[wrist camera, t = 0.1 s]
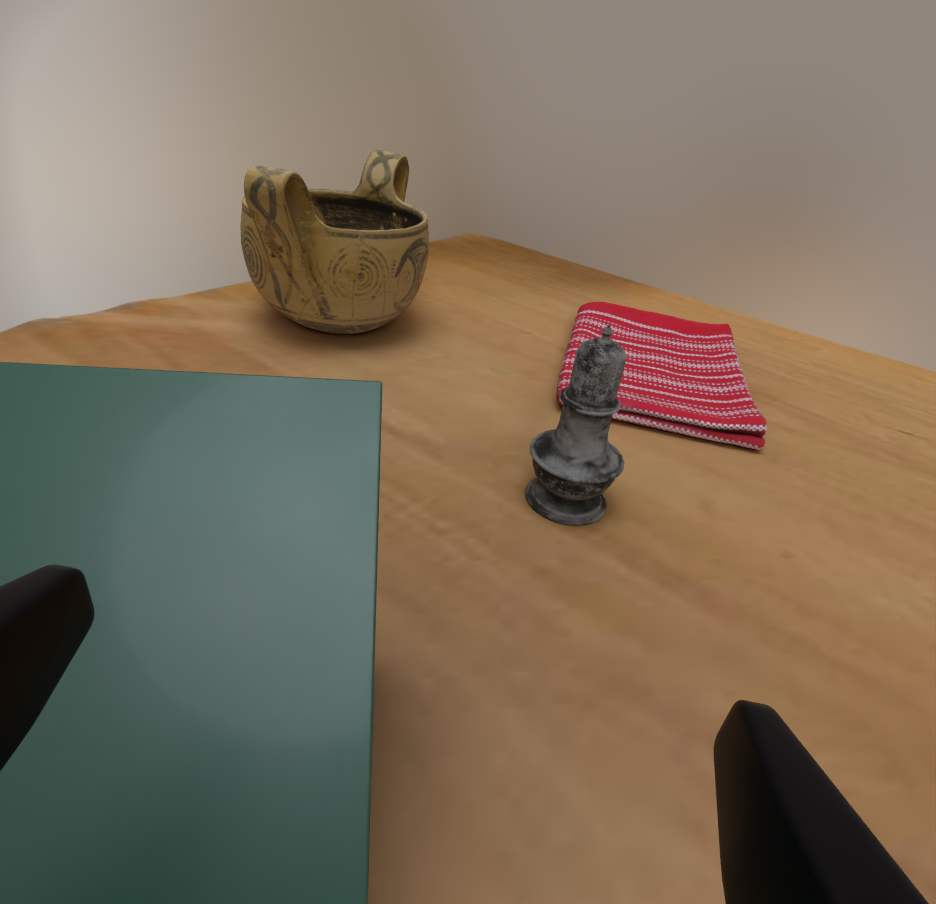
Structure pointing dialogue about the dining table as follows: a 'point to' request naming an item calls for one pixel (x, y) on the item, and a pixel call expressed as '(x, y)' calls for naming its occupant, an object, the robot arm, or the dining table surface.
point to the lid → (195, 635)
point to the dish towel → (673, 374)
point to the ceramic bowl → (335, 246)
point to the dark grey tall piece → (580, 439)
